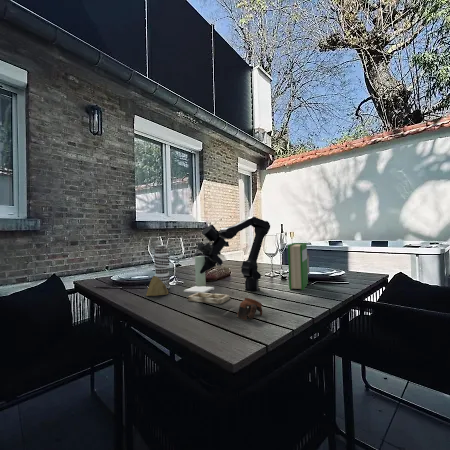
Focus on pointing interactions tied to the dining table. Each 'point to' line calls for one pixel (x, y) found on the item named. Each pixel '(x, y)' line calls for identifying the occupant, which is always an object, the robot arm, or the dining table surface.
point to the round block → (198, 266)
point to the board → (199, 289)
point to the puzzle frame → (209, 298)
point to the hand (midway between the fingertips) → (197, 272)
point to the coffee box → (307, 262)
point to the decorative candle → (162, 264)
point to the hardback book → (297, 265)
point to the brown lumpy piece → (251, 310)
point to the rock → (156, 287)
